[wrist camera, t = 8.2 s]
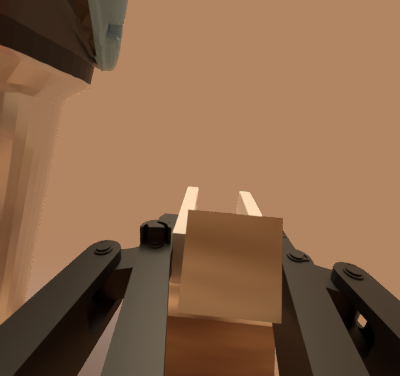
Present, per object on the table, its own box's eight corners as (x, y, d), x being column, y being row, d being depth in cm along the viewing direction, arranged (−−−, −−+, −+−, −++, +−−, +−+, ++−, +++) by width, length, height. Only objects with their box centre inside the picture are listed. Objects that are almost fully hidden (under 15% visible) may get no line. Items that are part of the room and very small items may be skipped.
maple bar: (281, 323, 6) (282, 218, 6) (177, 312, 6) (188, 209, 7) (215, 247, 31) (217, 227, 32) (196, 245, 31) (198, 226, 32)
